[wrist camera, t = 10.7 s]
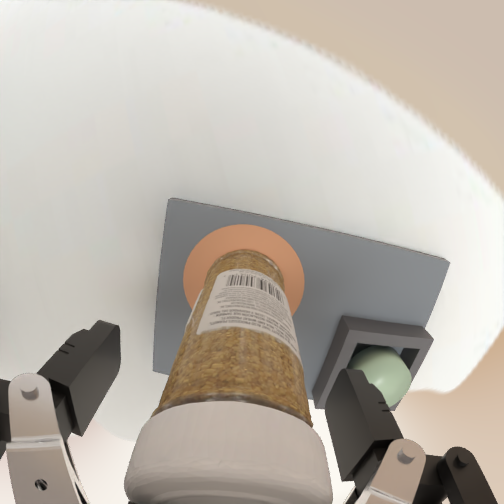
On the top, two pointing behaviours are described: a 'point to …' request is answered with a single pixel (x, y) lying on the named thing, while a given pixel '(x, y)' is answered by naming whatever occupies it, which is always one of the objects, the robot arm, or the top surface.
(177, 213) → the slate board
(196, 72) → the top surface
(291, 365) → the sprinkles bottle
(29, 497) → the robot arm
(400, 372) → the button
